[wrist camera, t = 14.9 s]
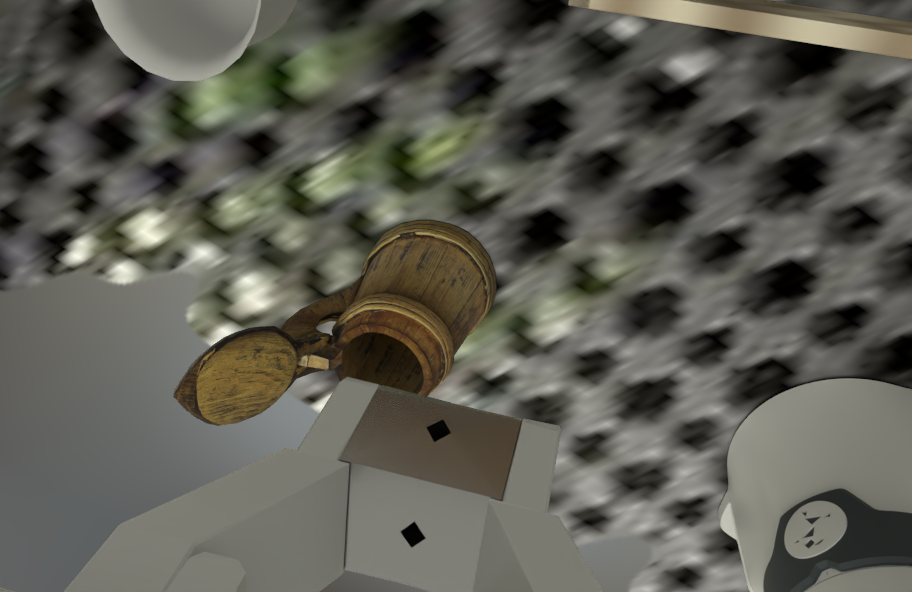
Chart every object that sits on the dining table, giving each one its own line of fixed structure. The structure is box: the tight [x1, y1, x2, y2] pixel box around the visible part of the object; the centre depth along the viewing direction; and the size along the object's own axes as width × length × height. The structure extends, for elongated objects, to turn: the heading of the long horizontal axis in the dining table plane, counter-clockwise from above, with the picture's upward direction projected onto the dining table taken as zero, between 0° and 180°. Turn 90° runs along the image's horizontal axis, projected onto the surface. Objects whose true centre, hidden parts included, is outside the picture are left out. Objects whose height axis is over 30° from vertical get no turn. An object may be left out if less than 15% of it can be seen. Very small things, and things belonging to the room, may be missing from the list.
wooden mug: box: [174, 221, 496, 426], centre depth 45 cm, size 9×14×18 cm, turn 80°
